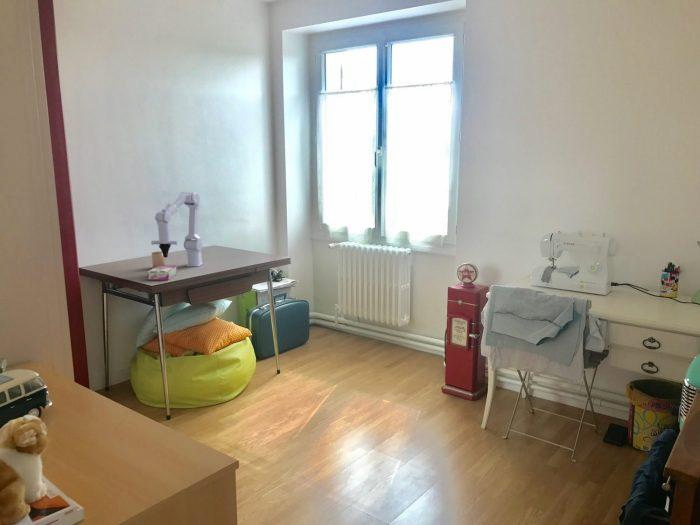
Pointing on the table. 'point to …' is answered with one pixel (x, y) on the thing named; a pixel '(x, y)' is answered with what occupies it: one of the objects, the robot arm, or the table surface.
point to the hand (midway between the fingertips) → (165, 257)
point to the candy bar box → (162, 272)
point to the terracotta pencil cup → (157, 259)
